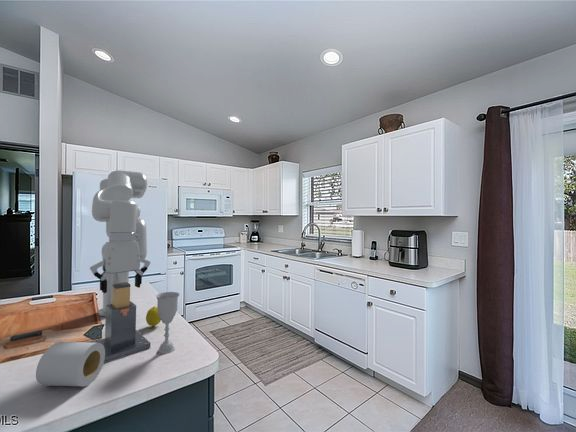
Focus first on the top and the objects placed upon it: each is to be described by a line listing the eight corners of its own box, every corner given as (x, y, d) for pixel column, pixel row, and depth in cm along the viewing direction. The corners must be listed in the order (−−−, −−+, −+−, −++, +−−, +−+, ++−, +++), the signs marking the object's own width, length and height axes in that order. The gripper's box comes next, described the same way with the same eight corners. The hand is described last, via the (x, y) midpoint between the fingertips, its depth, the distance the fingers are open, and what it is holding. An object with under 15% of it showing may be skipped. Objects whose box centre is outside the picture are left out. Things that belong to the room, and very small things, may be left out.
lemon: (155, 330, 102) (155, 309, 101) (142, 329, 103) (142, 308, 103) (164, 324, 107) (165, 304, 107) (152, 323, 108) (152, 303, 108)
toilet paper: (35, 394, 65) (36, 353, 65) (68, 370, 75) (69, 335, 75) (76, 395, 65) (77, 354, 65) (104, 371, 75) (105, 336, 75)
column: (110, 341, 88) (112, 283, 88) (125, 337, 91) (126, 281, 91) (114, 345, 85) (116, 286, 85) (129, 341, 89) (130, 284, 88)
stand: (89, 347, 88) (90, 304, 88) (136, 333, 98) (136, 296, 98) (100, 363, 79) (101, 316, 78) (150, 347, 89) (151, 305, 89)
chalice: (182, 346, 90) (184, 293, 90) (167, 356, 83) (168, 299, 83) (165, 342, 92) (166, 291, 92) (149, 352, 86) (150, 296, 86)
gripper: (146, 236, 97) (145, 283, 97) (88, 238, 84) (86, 292, 84) (154, 237, 92) (153, 286, 92) (93, 239, 79) (92, 297, 79)
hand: (121, 289), depth 88 cm, fingers open, 9 cm apart
